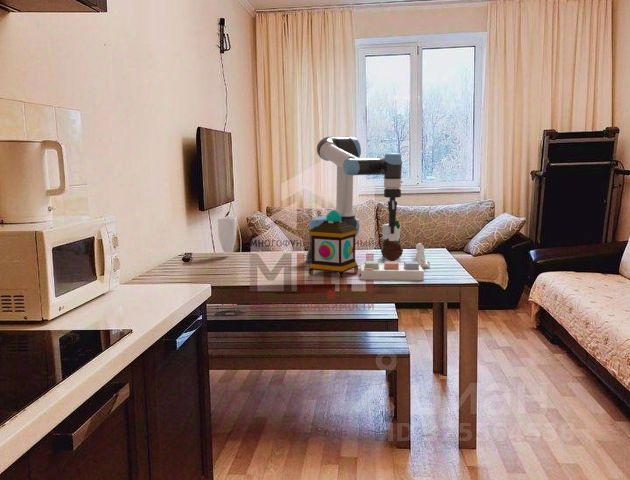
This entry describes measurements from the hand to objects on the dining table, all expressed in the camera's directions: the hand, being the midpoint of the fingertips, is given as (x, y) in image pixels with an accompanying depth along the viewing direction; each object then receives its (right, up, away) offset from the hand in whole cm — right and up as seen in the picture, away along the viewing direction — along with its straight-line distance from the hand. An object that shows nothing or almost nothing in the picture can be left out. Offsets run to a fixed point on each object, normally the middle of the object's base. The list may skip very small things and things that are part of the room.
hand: (391, 240), depth 257 cm
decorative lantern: (-26, -16, +9) cm, 32 cm away
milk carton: (+7, -9, +55) cm, 56 cm away
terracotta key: (0, -14, +2) cm, 15 cm away
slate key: (+9, -14, +1) cm, 17 cm away
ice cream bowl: (+3, -14, +21) cm, 25 cm away
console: (0, -16, +2) cm, 17 cm away
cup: (-83, -9, +57) cm, 101 cm away
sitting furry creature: (+18, -13, +26) cm, 34 cm away
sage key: (-9, -14, +3) cm, 17 cm away
